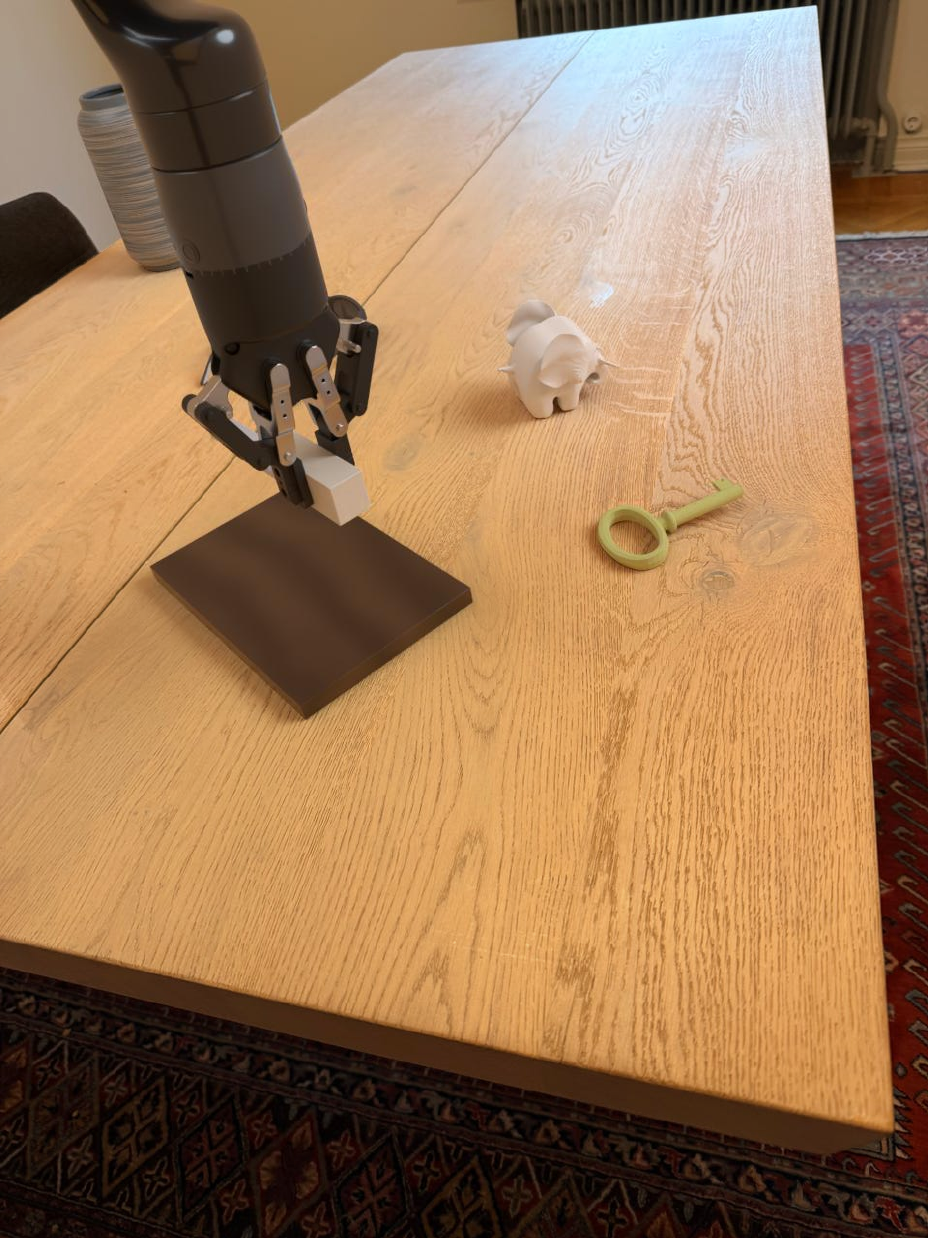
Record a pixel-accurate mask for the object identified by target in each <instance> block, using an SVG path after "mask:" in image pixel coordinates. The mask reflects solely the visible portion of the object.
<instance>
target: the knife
mask: <svg viewBox="0 0 928 1238" xmlns="http://www.w3.org/2000/svg"><path fill="white" fill-rule="evenodd" d="M229 420H230V421H232V422H233V423H234V424H235V425H236V426H237V427H238V428H239V429H240V430H242V431H243V432H244V433H245V434H246V435H247V436H248V437H249V438H250V439H252V440H253V441H258V440H259V437H258V432H257V431H254V430H252V428H249V427H247V426H246V425H244V424H243V423H241V422H239V421H238V420H236V419H235V418H233V417H232V418H231V419H229ZM209 435H210V437H211V438H212V439H214V440H215V441H217V442H219V441H218V440H217V439H216V438H215V437H214V436H212V435H211V434H210V433H209ZM293 437H294V443H295V449H296V455H297V456H296V457H297V458H299V459H300V460H301V461H302V464H303V467H304V470H305V473H306V474H305V475H306V478H307V481H308V485H309V488H310V491H311V494H312V497H313V500H314V505H312V506H311V507H313V508H314V509H316V510H317V511H319V512H320V513H322V514H323V515H325V516H326V517H328V518H329V519H331V520H332V521H334V522H335V523H337V524H338V525H340V526H342V525H343V524H345V523H347V522H348V521H350V520H352V519H353V518H355V517H356V516H360V515H361V514H363V513H365V512H366V511H368V510H370V509H371V508H372V504H371V501H370V497H369V493H368V490H367V486H366V482H365V478H364V474H363V471H362V469H360V468H359V467H357V466H356V465H355V466H353V465H351V464H350V463H348V462H346V461H345V460H343V459H341V458H340V457H338V456H336V455H334V454H332V453H331V452H329V451H327V450H326V449H324V448H322V447H321V446H319V445H318V443H316V442H314V441H313V440H311V439H309V438H307V437H306V436H304V435H302V434H301V433H299V432H298V431H294V430H293ZM262 472H263V473H265V474H266V475H268V476H269V477H271V478H272V479H274V480H275V477H274V474H273V471H272V468H271V466H269V467H268V468H267V469H266V470H264V471H262ZM275 483H276V484H277V482H276V481H275Z"/></svg>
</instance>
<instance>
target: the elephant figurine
mask: <svg viewBox="0 0 928 1238" xmlns="http://www.w3.org/2000/svg"><path fill="white" fill-rule="evenodd" d="M505 337H506V340H507V342H508V344H509V345H510V347H512V348H511V351H510V354H509V357H508V360H507V365H506V366H501V367H498V368H497V372H503V373H506V374H507V378H508V382H509V385H510V387H511V389H512V390H513V392H514V393H515V395H516V396H517V397H518V399H519V400H520V401H521V402H522V403H523V405H524V407H525V408H526V409H527V410H528V412H529V413H530V414H531V415H532V416H533V417H534V418H536V419H546V418H547V419H548V418H549V417H550V416H551V415H552V414H553V411H554V404H553V403H554V402H553V401H554V399H555V398H557V405H558V407H559V408H560V410H562V411H571V410H574V409H576V408H577V407H578V405H579V402H580V393H581V390H582V388H583V385H584V383H585V382H586V384H588V386H589V387H591V388H596V387H599V386H601V385H602V384H603V383H604V382H605V380H606V377H607V375H608V374H607V373H608V366H609V367H611V368H614V369H617V370H619V369H623V367H622V366H620V365H618V364H615V363H613V362H610V361H608V360H606V358H604V356H603V355H602V354H601V353H600V352H599V351H603V352H605V350H604V349H603V348H602V346H599V345H598V344H596V343H594V341H593V340H592V339H591V338H590V337H589V336H588V335H587V334H586V333H585V332H584V331H583V330H582V329H581V328H580V327H579V326H578V325H577V324H576V323H575V321H573V320H572V319H571V318H569V317H567V316H565V315H558V314H557V313H556V311H555V310H554V308H553V307H552V306H551V305H550V304H549V303H547V302H545V301H543V300H540V299H528V300H525V301H524V302H523V303H521V305H520V306H519V307H518V308H517V309H516V311H515V312H514V314H513V315H512V317H511V319H510V321H509V323H508V325H507V328H506V331H505Z"/></svg>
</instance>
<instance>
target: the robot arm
mask: <svg viewBox="0 0 928 1238" xmlns="http://www.w3.org/2000/svg"><path fill="white" fill-rule="evenodd" d="M70 2H71V4H72V5H73V7H74V8H75V10H76V12H77V14H78V15H79V17H80V19H81V20H82V23H83V24H84V26H85V27H86V29H87V31H88V32H89V34H90V36H91V37H92V39H93V40H94V42H95V43H96V45H97V47H98V48H99V49H100V51H101V53H102V54H103V55H104V57H105V58H106V60H107V62H108V63H109V64H110V66H111V68H112V70H113V71H114V73H115V75H116V76H117V79H118V80H119V83H121V85H122V88H123V91H124V94H125V97H126V100H127V103H128V106H129V108H130V112H131V115H132V117H133V120H134V123H135V126H136V129H137V131H138V134H139V137H140V140H141V142H142V145H143V148H144V151H145V154H146V156H147V159H148V162H149V164H150V168H151V171H152V174H153V177H154V181H155V185H156V190H157V195H158V199H159V204H160V208H161V212H162V215H163V218H164V221H165V224H166V226H167V229H168V232H169V235H170V238H171V240H172V243H173V246H174V249H175V251H176V254H177V257H178V260H179V262H180V265H181V267H180V268H181V271H182V272H183V276H184V279H185V282H186V285H187V287H188V290H189V293H190V295H191V299H192V301H193V304H194V306H195V310H196V312H197V315H198V318H199V320H200V323H201V326H202V329H203V331H204V334H205V336H206V338H207V340H208V342H209V345H210V350H211V353H212V356H211V364H210V365H211V371H210V373H211V375H212V376H211V378H210V379H208V382H207V383H206V384H205V385H203V387H202V388H201V390H200V391H199V392H198V393H197V394H195V393H188V394H186V395H185V396H184V397H183V398H182V400H181V402H180V403H181V404H180V405H181V409H182V411H183V412H184V413H185V414H186V415H188V416H189V417H190V418H191V419H192V420H193V421H195V422H196V423H197V424H198V425H200V426H201V427H202V428H203V429H204V430H205V431H206V432H208V434H209V435H210V434H211V435H212V436H214V437H215V438H216V439H217V440H218V441H217V440H216V439H215V440H216V441H217V442H219V444H222V445H223V446H224V447H225V448H226V449H227V450H229V452H231V453H232V454H233V455H234V456H236V457H237V458H238V459H239V460H242V461H243V462H245V463H246V464H248V465H249V466H250V467H252V468H253V469H255V470H256V471H257V472H263V471H264V470H266V469H267V468H268V467H269V466H271V468H272V471H273V474H274V477H275V479H274V480H275V483H276V482H277V483H276V485H277V488H278V492H280V493H281V495H282V496H283V497H284V498H286V499H287V500H289V501H290V502H292V503H293V504H294V505H299V506H301V507H302V508H303V509H307V508H308V507H310V506H312V505H314V500H313V497H312V494H311V491H310V488H309V485H308V481H307V478H306V475H305V474H306V473H305V470H304V467H303V464H302V461H301V460H300V459H299V458H297V457H296V456H297V455H296V449H295V443H294V437H293V432H294V430H295V429H296V421H295V415H294V410H293V409H294V407H295V406H296V405H297V404H298V403H299V402H300V401H302V402H303V403H304V405H305V407H306V409H307V412H308V414H309V416H310V418H311V421H312V423H313V424H314V425H315V426H317V428H318V429H316V430H314V435H315V440H316V442H317V443H316V444H318V445H319V446H321V447H322V448H324V449H326V450H327V451H329V452H331V453H332V454H334V455H336V456H338V457H340V458H341V459H343V460H345V461H346V462H348V463H350V464H351V465H353V466H355V467H356V462H355V458H354V457H353V456H354V454H353V452H352V448H351V444H350V441H349V437H348V431H349V424H350V423H352V420H354V419H355V418H356V417H362V416H364V415H365V414H366V413H367V410H368V407H369V399H370V393H371V386H372V380H373V374H374V367H375V360H376V355H377V354H376V353H377V347H378V341H379V333H380V331H379V328H378V327H379V326H377V325H376V324H375V323H372V322H370V321H367V320H366V321H365V320H363V319H360V318H358V317H355V316H353V315H347V316H346V317H344V319H338V317H337V316H336V314H335V313H334V312H333V311H332V310H331V309H330V307H329V306H328V296H329V293H328V288H327V285H326V280H325V277H324V274H323V273H324V272H323V270H322V266H321V262H320V258H319V254H318V250H317V247H316V241H315V238H314V234H313V230H312V226H311V221H310V217H309V215H308V214H309V213H308V206H307V203H306V200H305V198H304V196H303V191H302V187H301V184H300V180H299V178H298V174H297V171H296V169H295V166H294V164H293V162H292V160H291V156H290V154H289V151H288V148H287V146H286V143H285V139H284V136H283V134H282V130H281V126H280V125H281V124H280V121H279V117H278V114H277V110H276V106H275V103H274V100H273V95H272V91H271V88H270V87H271V86H270V83H269V79H268V76H267V71H266V67H265V63H264V59H263V55H262V52H261V49H260V45H259V42H258V40H257V36H256V33H255V32H254V28H253V27H252V26H251V24H250V22H249V21H248V20H247V19H246V17H244V16H243V15H242V14H241V13H240V12H239V11H236V10H234V9H233V8H229V7H225V6H222V5H219V4H218V5H217V4H213V3H208V2H204V1H200V0H70ZM336 348H337V349H338V354H337V355H336V357H337V358H336V362H335V370H334V376H333V377H334V378H333V377H332V375H331V373H330V370H331V366H332V363H333V359H334V358H333V356H334V352H335V349H336ZM230 391H231V392H233V393H234V394H236V395H238V396H239V397H241V398H243V399H244V400H245V401H247V404H248V409H249V414H250V417H251V419H252V421H253V422H254V424H255V426H256V433H257V434H258V437H259V440H258V441H253V440H252V439H250V438H249V437H248V436H247V435H246V434H245V433H244V432H243V431H242V430H240V429H239V428H238V427H237V426H236V425H235V424H234V423H233V422H232V421H230V419H232V418H233V417H234V408H233V405H232V404H231V403H230V401H229V393H230ZM211 435H210V436H211Z"/></svg>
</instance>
